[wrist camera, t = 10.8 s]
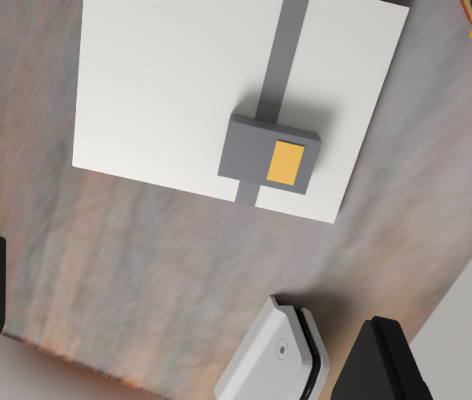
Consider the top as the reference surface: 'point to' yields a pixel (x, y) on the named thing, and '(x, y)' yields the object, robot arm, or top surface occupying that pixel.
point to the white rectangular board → (229, 88)
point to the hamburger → (468, 11)
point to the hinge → (277, 358)
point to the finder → (269, 154)
